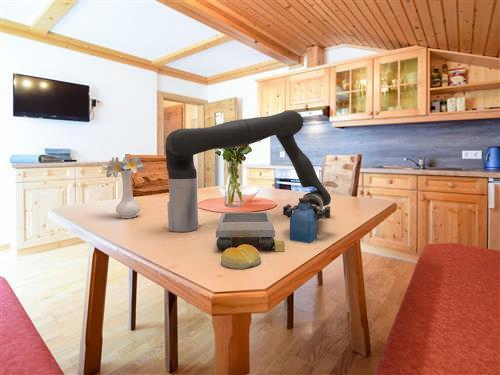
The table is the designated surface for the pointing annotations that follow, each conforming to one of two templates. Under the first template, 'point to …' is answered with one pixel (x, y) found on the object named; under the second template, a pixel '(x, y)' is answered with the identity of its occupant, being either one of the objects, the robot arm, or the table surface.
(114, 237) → the table surface
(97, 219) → the table surface
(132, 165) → the flower vase
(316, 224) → the perfume bottle
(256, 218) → the trolley
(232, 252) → the bread roll
